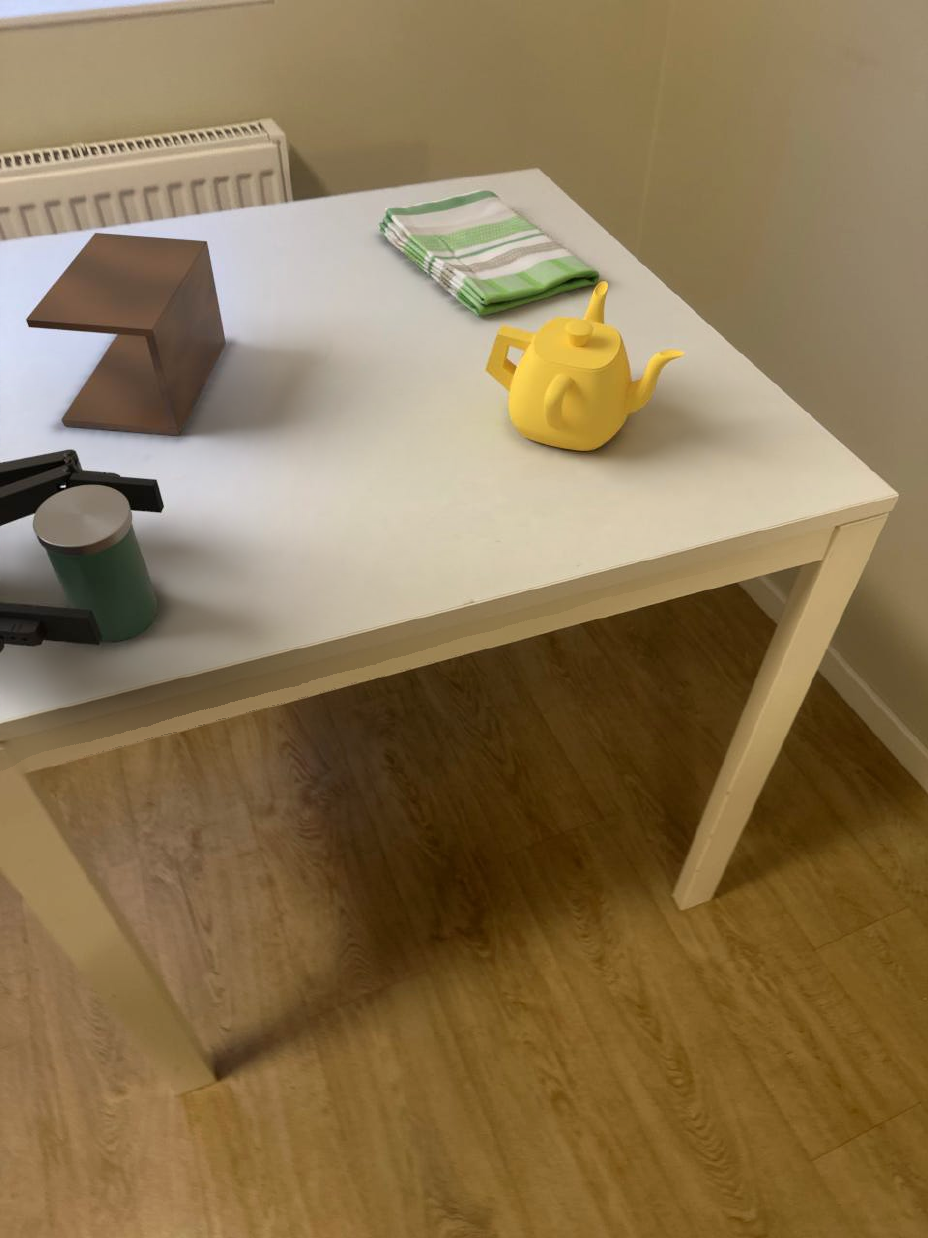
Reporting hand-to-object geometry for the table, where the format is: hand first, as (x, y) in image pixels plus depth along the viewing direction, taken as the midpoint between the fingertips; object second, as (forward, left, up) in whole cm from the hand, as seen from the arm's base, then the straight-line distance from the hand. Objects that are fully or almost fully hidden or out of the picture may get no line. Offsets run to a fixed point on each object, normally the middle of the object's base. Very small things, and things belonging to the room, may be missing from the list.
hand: (130, 557), depth 67 cm
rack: (+9, +30, -6) cm, 32 cm away
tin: (-2, +1, -6) cm, 6 cm away
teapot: (+43, +6, -6) cm, 44 cm away
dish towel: (+51, +37, -6) cm, 64 cm away
